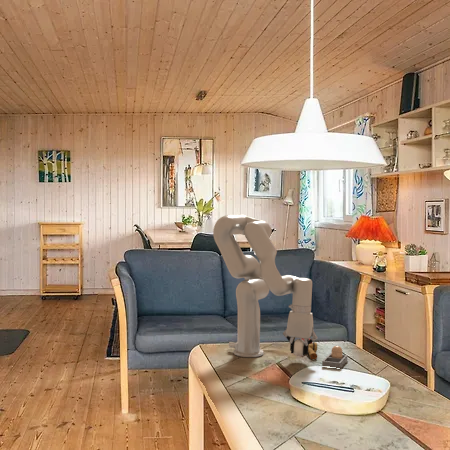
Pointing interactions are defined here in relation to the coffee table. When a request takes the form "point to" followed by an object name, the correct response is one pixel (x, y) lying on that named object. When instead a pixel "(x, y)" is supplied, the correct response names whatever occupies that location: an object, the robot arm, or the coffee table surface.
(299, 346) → the egg
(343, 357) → the carton
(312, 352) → the kendama
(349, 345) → the coffee table surface
